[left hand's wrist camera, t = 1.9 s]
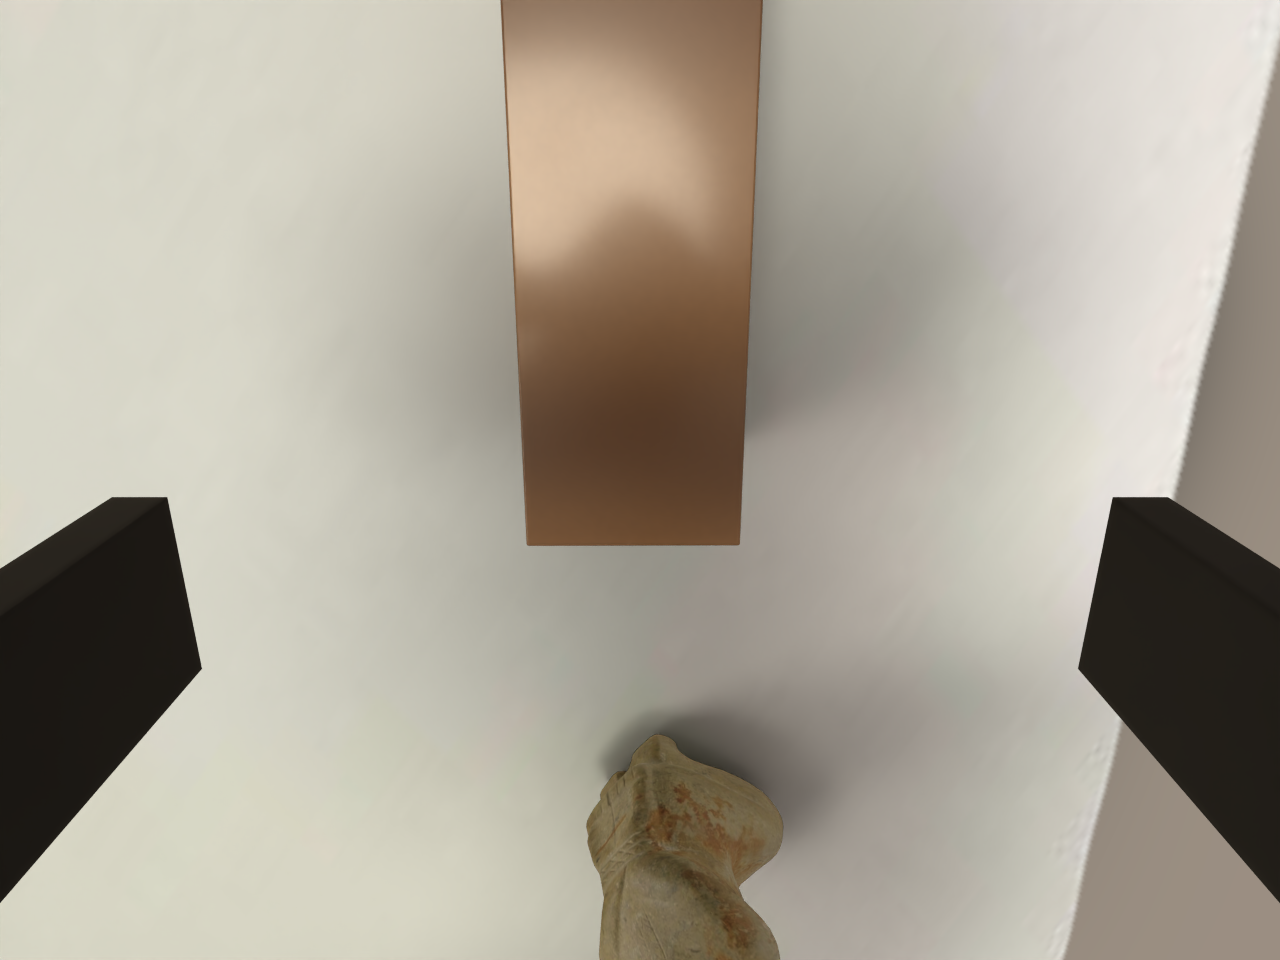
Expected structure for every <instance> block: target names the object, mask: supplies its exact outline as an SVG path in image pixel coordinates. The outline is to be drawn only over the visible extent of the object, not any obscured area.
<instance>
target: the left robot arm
mask: <svg viewBox="0 0 1280 960" xmlns="http://www.w3.org/2000/svg"><path fill="white" fill-rule="evenodd" d="M201 669H202V667H201V662H200V657H199V652H198V647H197V642H196V637H195V632H194V627H193V622H192V617H191V612H190V608H189V603H188V598H187V593H186V588H185V583H184V578H183V573H182V568H181V563H180V558H179V553H178V548H177V543H176V538H175V533H174V528H173V524H172V519H171V514H170V509H169V504H168V499H167V497H112V498H110V499H109V500H107V501H105V502H104V503H102V504H101V505H99V506H98V507H96V508H95V509H93V510H91V511H90V512H88V513H87V514H85V515H84V516H82V517H80V518H79V519H77V520H76V521H74V522H73V523H71V524H69V525H68V526H66V527H65V528H63V529H62V530H60V531H59V532H57V533H55V534H54V535H52V536H51V537H49V538H48V539H46V540H44V541H43V542H41V543H40V544H38V545H37V546H35V547H33V548H32V549H30V550H29V551H27V552H26V553H24V554H22V555H21V556H19V557H18V558H16V559H15V560H13V561H12V562H10V563H8V564H7V565H5V566H4V567H2V568H1V569H0V903H1V901H2V900H3V899H4V898H5V897H6V896H7V894H8V893H9V892H10V891H11V890H12V889H13V887H14V886H15V885H16V884H17V883H18V882H19V880H20V879H21V878H22V877H23V876H24V875H25V874H26V872H27V871H28V870H29V869H30V868H31V867H32V865H33V864H34V863H35V862H36V861H37V860H38V858H39V857H40V856H41V855H42V854H43V853H44V851H45V850H46V849H47V848H48V847H49V846H50V844H51V843H52V842H53V841H54V840H55V839H56V838H57V836H58V835H59V834H60V833H61V832H62V831H63V829H64V828H65V827H66V826H67V825H68V824H69V822H70V821H71V820H72V819H73V818H74V817H75V815H76V814H77V813H78V812H79V811H80V810H81V808H82V807H83V806H84V805H85V804H86V803H87V802H88V800H89V799H90V798H91V797H92V796H93V795H94V793H95V792H96V791H97V790H98V789H99V788H100V786H101V785H102V784H103V783H104V782H105V781H106V779H107V778H108V777H109V776H110V775H111V774H112V773H113V771H114V770H115V769H116V768H117V767H118V766H119V764H120V763H121V762H122V761H123V760H124V759H125V757H126V756H127V755H128V754H129V753H130V752H131V750H132V749H133V748H134V747H135V746H136V745H137V743H138V742H139V741H140V740H141V739H142V738H143V737H144V735H145V734H146V733H147V732H148V731H149V730H150V728H151V727H152V726H153V725H154V724H155V723H156V721H157V720H158V719H159V718H160V717H161V716H162V714H163V713H164V712H165V711H166V710H167V709H168V708H169V706H170V705H171V704H172V703H173V702H174V701H175V699H176V698H177V697H178V696H179V695H180V694H181V692H182V691H183V690H184V689H185V688H186V687H187V685H188V684H189V683H190V682H191V681H192V680H193V678H194V677H195V676H196V675H197V674H198V673H199V672H200V670H201ZM1078 669H1079V670H1080V672H1081V673H1082V674H1083V675H1084V676H1085V677H1086V678H1087V680H1088V681H1089V682H1090V683H1091V684H1092V685H1093V687H1094V688H1095V689H1096V690H1097V691H1098V692H1099V694H1100V695H1101V696H1102V697H1103V698H1104V699H1105V701H1106V702H1107V703H1108V704H1109V705H1110V706H1111V708H1112V709H1113V710H1114V711H1115V712H1116V713H1117V714H1118V716H1119V717H1120V718H1121V719H1122V720H1123V721H1124V723H1125V724H1126V725H1127V726H1128V727H1129V728H1130V730H1131V731H1132V732H1133V733H1134V734H1135V735H1136V737H1137V738H1138V739H1139V740H1140V741H1141V742H1142V743H1143V745H1144V746H1145V747H1146V748H1147V749H1148V750H1149V752H1150V753H1151V754H1152V755H1153V756H1154V757H1155V759H1156V760H1157V761H1158V762H1159V763H1160V764H1161V766H1162V767H1163V768H1164V769H1165V770H1166V771H1167V773H1168V774H1169V775H1170V776H1171V777H1172V778H1173V779H1174V781H1175V782H1176V783H1177V784H1178V785H1179V786H1180V788H1181V789H1182V790H1183V791H1184V792H1185V793H1186V795H1187V796H1188V797H1189V798H1190V799H1191V800H1192V802H1193V803H1194V804H1195V805H1196V806H1197V807H1198V808H1199V810H1200V811H1201V812H1202V813H1203V814H1204V815H1205V817H1206V818H1207V819H1208V820H1209V821H1210V822H1211V824H1212V825H1213V826H1214V827H1215V828H1216V829H1217V831H1218V832H1219V833H1220V834H1221V835H1222V836H1223V838H1224V839H1225V840H1226V841H1227V842H1228V843H1229V844H1230V846H1231V847H1232V848H1233V849H1234V850H1235V851H1236V853H1237V854H1238V855H1239V856H1240V857H1241V858H1242V860H1243V861H1244V862H1245V863H1246V864H1247V865H1248V867H1249V868H1250V869H1251V870H1252V871H1253V872H1254V874H1255V875H1256V876H1257V877H1258V878H1259V879H1260V880H1261V882H1262V883H1263V884H1264V885H1265V886H1266V887H1267V889H1268V890H1269V891H1270V892H1271V893H1272V894H1273V896H1274V897H1275V898H1276V899H1277V900H1278V901H1279V903H1280V569H1279V568H1278V567H1276V566H1275V565H1273V564H1272V563H1270V562H1268V561H1267V560H1265V559H1264V558H1262V557H1261V556H1259V555H1258V554H1256V553H1254V552H1253V551H1251V550H1250V549H1248V548H1247V547H1245V546H1243V545H1242V544H1240V543H1239V542H1237V541H1235V540H1234V539H1232V538H1231V537H1229V536H1228V535H1226V534H1225V533H1223V532H1221V531H1220V530H1218V529H1217V528H1215V527H1214V526H1212V525H1211V524H1209V523H1207V522H1206V521H1204V520H1203V519H1201V518H1200V517H1198V516H1196V515H1195V514H1193V513H1192V512H1190V511H1189V510H1187V509H1185V508H1184V507H1182V506H1181V505H1179V504H1178V503H1176V502H1175V501H1173V500H1171V499H1170V498H1168V497H1113V499H1112V504H1111V509H1110V514H1109V519H1108V524H1107V528H1106V533H1105V538H1104V543H1103V548H1102V553H1101V558H1100V563H1099V568H1098V573H1097V578H1096V583H1095V588H1094V593H1093V598H1092V603H1091V608H1090V612H1089V617H1088V622H1087V627H1086V632H1085V637H1084V642H1083V647H1082V652H1081V657H1080V662H1079V667H1078Z"/></svg>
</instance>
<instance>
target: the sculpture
mask: <svg viewBox="0 0 1280 960" xmlns="http://www.w3.org/2000/svg"><path fill="white" fill-rule="evenodd" d="M600 797H601V800H600V801H599V803H598V804H597V805H596V807H595V808H594V809H593V811H592V813H591V814H590V816H589V818H588V820H587V826H586V827H587V832H588V846H589V850H590V853H591V857H592V860H593V863H594V866H595V867H596V869H597V870H598V872H599V874H600V878H601V884H602V889H603V895H604V902H603V910H602V919H601V932H600V948H599V958H600V960H780V955H779V950H778V946H777V943H776V940H775V938H774V936H773V934H772V932H771V930H770V928H769V927H768V926H767V925H766V923H765V922H764V921H763V920H762V919H761V917H760V916H759V915H758V914H757V913H756V912H755V911H754V910H753V909H752V908H751V907H750V906H749V905H748V904H747V903H746V902H745V901H744V900H743V897H742V895H741V892H740V890H739V886H740V885H741V883H743V882H744V881H745V880H746V879H747V878H748V877H750V876H751V875H752V874H753V873H754V872H756V871H757V870H758V869H759V868H761V867H762V866H763V865H765V864H766V863H767V862H769V861H770V860H771V859H772V858H773V857H774V856H775V855H776V854H777V852H778V850H779V849H780V846H781V842H782V836H783V822H782V818H781V816H780V814H779V812H778V810H777V809H776V807H775V806H774V804H773V803H772V802H771V800H770V799H769V798H768V797H767V796H766V795H765V794H764V793H763V792H762V791H760V790H759V789H757V788H756V787H755V786H753V785H752V784H750V783H748V782H746V781H744V780H743V779H741V778H739V777H737V776H735V775H732V774H730V773H728V772H725V771H723V770H721V769H718V768H715V767H711V766H708V765H705V764H702V763H699V762H697V761H694V760H691V759H689V758H688V757H686V756H685V755H684V754H682V753H681V752H680V751H678V749H677V745H676V743H675V742H674V741H673V740H672V739H671V738H669V737H666V736H664V735H658V734H656V735H653V736H652V737H650V738H649V739H648V740H646V741H645V742H644V743H643V744H642V745H641V746H640V747H639V748H638V749H637V750H636V751H635V752H634V754H633V756H632V761H631V764H630V767H629V769H628V771H619V772H617V773H615V774H614V775H613V776H612V777H611V779H610V780H609V781H608V783H607V784H606V785H605V787H604V788H603V790H602V791H601V794H600Z"/></svg>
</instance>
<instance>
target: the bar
mask: <svg viewBox="0 0 1280 960" xmlns="http://www.w3.org/2000/svg"><path fill="white" fill-rule="evenodd" d="M762 9H763V0H501V20H502V41H503V61H504V82H505V103H506V124H507V145H508V165H509V186H510V207H511V228H512V249H513V270H514V290H515V311H516V332H517V353H518V374H519V394H520V415H521V436H522V457H523V478H524V498H525V519H526V540H527V545H528V546H596V545H739V544H740V528H741V504H742V480H743V457H744V433H745V410H746V386H747V363H748V339H749V315H750V292H751V268H752V245H753V221H754V198H755V174H756V150H757V127H758V103H759V80H760V56H761V33H762Z"/></svg>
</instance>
